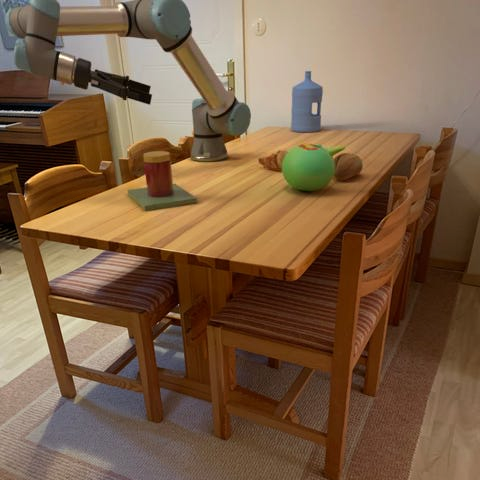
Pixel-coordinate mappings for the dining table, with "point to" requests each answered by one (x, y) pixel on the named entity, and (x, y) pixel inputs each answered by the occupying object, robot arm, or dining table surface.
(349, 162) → the bread roll
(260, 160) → the croissant
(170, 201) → the corner board
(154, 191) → the jam jar
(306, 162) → the toy bird
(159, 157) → the jam lid
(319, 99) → the water jug
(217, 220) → the dining table surface
